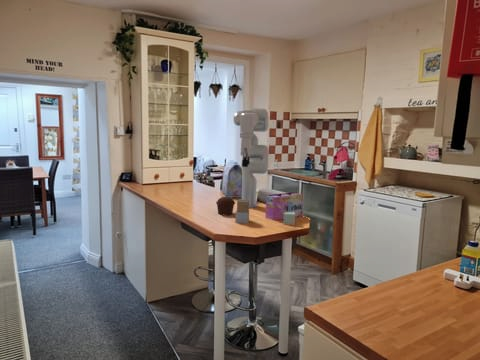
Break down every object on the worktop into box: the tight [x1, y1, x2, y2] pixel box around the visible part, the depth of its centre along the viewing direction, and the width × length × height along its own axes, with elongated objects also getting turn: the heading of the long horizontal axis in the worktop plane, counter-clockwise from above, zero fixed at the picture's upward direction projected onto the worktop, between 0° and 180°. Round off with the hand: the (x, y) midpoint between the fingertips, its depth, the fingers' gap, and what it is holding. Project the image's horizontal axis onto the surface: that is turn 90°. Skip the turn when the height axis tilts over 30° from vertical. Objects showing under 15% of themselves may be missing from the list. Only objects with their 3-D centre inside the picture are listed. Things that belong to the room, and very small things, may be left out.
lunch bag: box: [221, 159, 242, 199], centre depth 274 cm, size 22×17×26 cm
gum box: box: [265, 191, 304, 221], centre depth 216 cm, size 24×8×14 cm, turn 123°
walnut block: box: [236, 198, 250, 213], centre depth 201 cm, size 6×6×6 cm
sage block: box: [282, 211, 296, 226], centre depth 202 cm, size 6×6×6 cm
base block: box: [234, 209, 250, 224], centre depth 202 cm, size 7×7×6 cm
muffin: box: [215, 196, 236, 216], centre depth 219 cm, size 12×11×10 cm
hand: (245, 165), depth 208 cm, fingers open, 9 cm apart
